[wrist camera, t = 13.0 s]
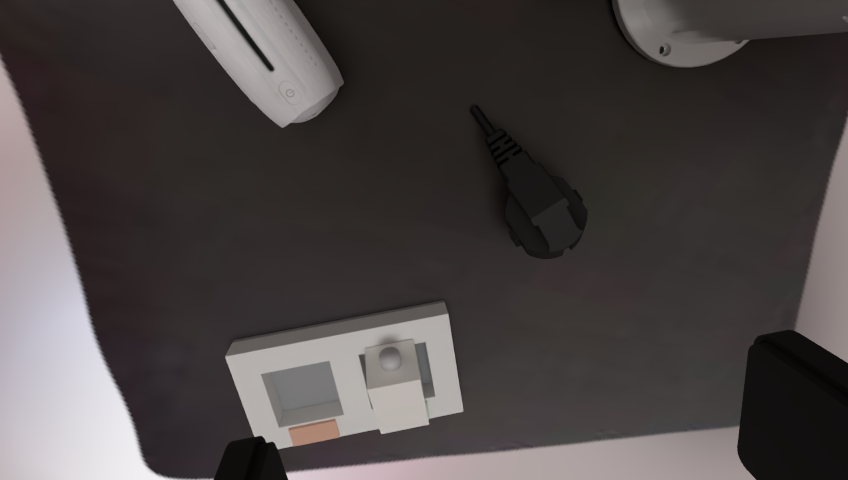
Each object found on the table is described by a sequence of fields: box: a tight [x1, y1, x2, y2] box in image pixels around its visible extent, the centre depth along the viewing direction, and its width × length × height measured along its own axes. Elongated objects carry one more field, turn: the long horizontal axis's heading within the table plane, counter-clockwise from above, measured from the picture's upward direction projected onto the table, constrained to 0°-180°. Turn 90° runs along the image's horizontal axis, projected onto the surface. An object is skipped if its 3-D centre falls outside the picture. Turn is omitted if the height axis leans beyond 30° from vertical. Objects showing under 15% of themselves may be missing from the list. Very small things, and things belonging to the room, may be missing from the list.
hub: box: [225, 300, 463, 449], centre depth 40 cm, size 18×10×3 cm, turn 99°
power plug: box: [471, 106, 587, 259], centre depth 35 cm, size 6×8×12 cm
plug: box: [365, 339, 429, 434], centre depth 38 cm, size 4×4×7 cm
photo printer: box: [173, 0, 344, 128], centre depth 26 cm, size 10×4×12 cm, turn 33°
